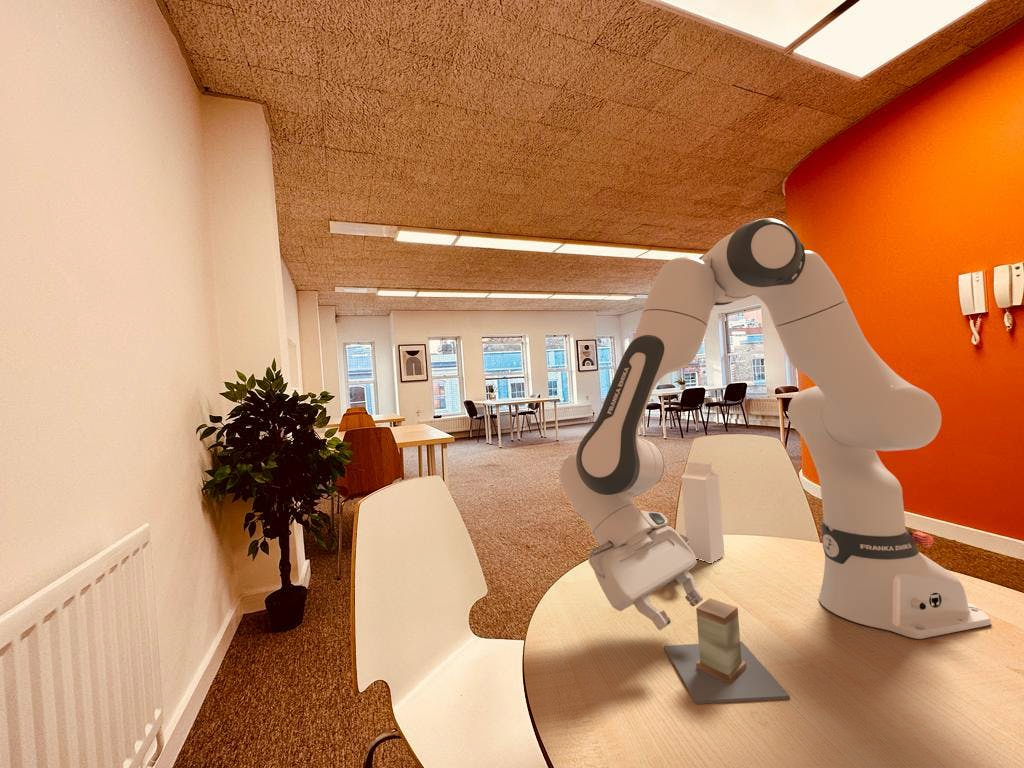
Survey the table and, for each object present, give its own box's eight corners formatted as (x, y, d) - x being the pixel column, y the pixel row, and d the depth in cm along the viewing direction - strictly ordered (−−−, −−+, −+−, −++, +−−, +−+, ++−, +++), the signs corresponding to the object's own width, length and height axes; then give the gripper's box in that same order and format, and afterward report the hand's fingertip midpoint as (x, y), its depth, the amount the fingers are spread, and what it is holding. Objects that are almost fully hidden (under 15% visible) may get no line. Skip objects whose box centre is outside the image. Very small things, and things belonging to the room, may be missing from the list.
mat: (741, 644, 67) (741, 641, 67) (790, 698, 55) (789, 695, 55) (664, 648, 67) (664, 645, 67) (695, 703, 55) (695, 700, 55)
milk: (711, 564, 97) (704, 466, 97) (686, 557, 102) (679, 463, 102) (725, 556, 100) (718, 462, 101) (700, 550, 105) (693, 459, 106)
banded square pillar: (712, 653, 65) (708, 596, 65) (746, 668, 61) (741, 607, 61) (696, 668, 62) (692, 608, 62) (730, 684, 58) (726, 620, 58)
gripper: (593, 541, 65) (656, 632, 57) (668, 511, 78) (727, 582, 70) (573, 563, 68) (629, 652, 60) (648, 530, 81) (702, 601, 73)
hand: (682, 614), depth 65 cm, fingers open, 8 cm apart
